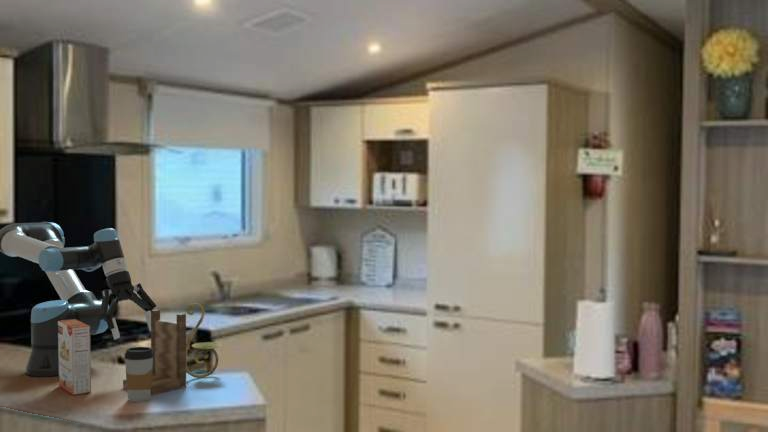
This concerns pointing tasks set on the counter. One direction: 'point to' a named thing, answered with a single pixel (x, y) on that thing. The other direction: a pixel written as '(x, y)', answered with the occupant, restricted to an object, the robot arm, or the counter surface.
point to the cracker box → (74, 356)
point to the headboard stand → (167, 353)
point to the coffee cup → (139, 373)
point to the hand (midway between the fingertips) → (135, 334)
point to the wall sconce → (201, 345)
